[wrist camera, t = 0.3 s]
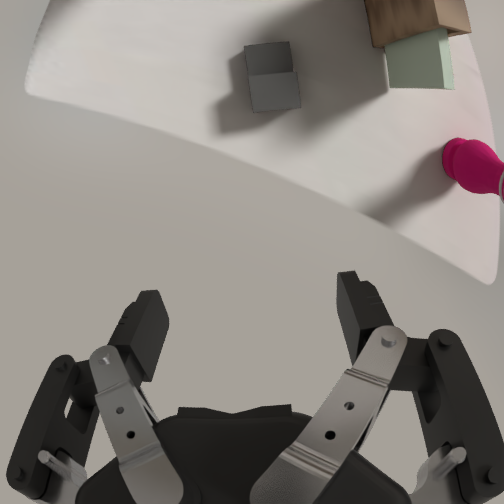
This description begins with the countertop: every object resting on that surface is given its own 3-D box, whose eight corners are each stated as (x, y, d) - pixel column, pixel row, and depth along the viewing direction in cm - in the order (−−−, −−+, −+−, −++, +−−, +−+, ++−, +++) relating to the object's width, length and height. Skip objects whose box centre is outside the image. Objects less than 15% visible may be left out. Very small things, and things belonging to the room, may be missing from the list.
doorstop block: (245, 49, 29) (242, 42, 25) (287, 45, 29) (291, 37, 24) (254, 111, 33) (253, 112, 29) (295, 106, 33) (301, 107, 28)
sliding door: (375, 1, 24) (421, -30, 13) (384, 2, 24) (432, -27, 13) (389, 87, 29) (444, 88, 19) (398, 88, 29) (454, 89, 18)
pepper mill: (463, 190, 36) (552, 254, 18) (431, 168, 35) (528, 229, 17) (481, 149, 33) (577, 197, 15) (450, 125, 32) (556, 162, 14)
